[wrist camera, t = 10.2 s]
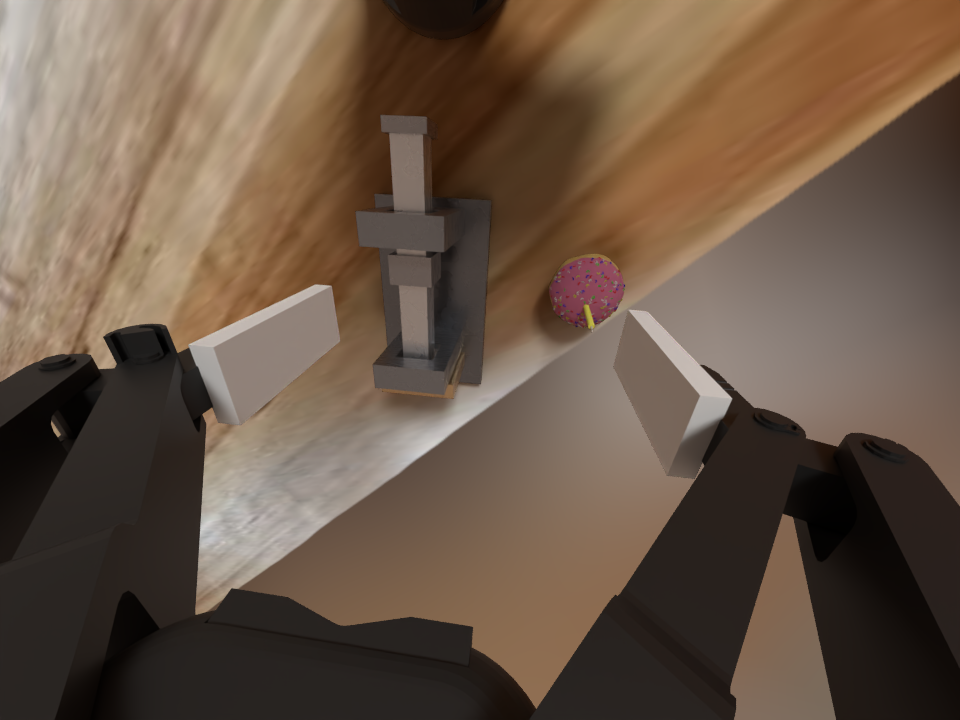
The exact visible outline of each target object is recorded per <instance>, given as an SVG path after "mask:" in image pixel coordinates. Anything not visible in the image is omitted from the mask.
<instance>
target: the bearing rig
mask: <svg viewBox="0 0 960 720" xmlns="http://www.w3.org/2000/svg"><path fill="white" fill-rule="evenodd" d="M374 195H375V207H376V208H373V209H366V210H359V211H355V212H356V221H357V230H358V239H359V246H363V247H377V248H379V253H380V264H381V276H382V288H383V299H384V311H385V322H386V334H387V345H388V347H387V348H386V349H385V351H384V352H383V353H382V354H381V355H380V357H379V358H378V359H377V360H376V361H375V362H374V364H373V372H374V381H375V388H382V389H392V390H401V391H411V392H421V393H430V394H440V395H444V394H445V392H446V389H447V387H448V384H449V381H450V379H451V376H452V373H453V371H454V368H455V366H456V363H457V360H458V358H459V355H460V352H465V365H464V368H463V371H462V374H461V377H460V380H459V382H464V383H474V384H481V380H482V365H483V348H484V330H485V313H486V296H487V279H488V261H489V244H490V227H491V210H492V200H482V199H464V198H447V197H432V213H415V212H398V211H394V200H393V194H374ZM397 249H405V250H419V251H433V252H441V278H440V279H439V280H438V281H437V282H436V284H435V285H434V347H435V354H434V356H433V358H432V360H423V359H413V358H404V357H403V341H402V325H401V309H400V294H399V285H390V277H389V264H388V255H389V254H390V253H392V252H394V251H396V250H397Z"/></svg>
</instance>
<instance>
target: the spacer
mask: <svg viewBox="0 0 960 720" xmlns="http://www.w3.org/2000/svg"><path fill="white" fill-rule="evenodd" d="M464 365H465V352H460V355H459V358H458V360H457V363H456V366H455V368H454V371H453V373H452V376H451V379H450V381H449V384H448V387H447V389H446V392H445V394H444V395H440V394H430V393H421V392H411V391H401V390H392V389H382V392H392V393H402V394H411V395H421V396H431V397H440V398H450V399H453V398H454V395H455V392H456V389H457V386H458V383H459V380H460V377H461V374H462V371H463V368H464Z"/></svg>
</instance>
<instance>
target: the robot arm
mask: <svg viewBox="0 0 960 720" xmlns="http://www.w3.org/2000/svg"><path fill="white" fill-rule="evenodd" d="M383 1H384V3H385V4H386V5H387V7H388V8H389V9H390V10H391V12H392V13H393V14H394V15H395V16H396V17H397V18H398V19H399V20H400V21H401V22H402V23H403V24H404V25H405V26H407V27H408V28H410V29H411V30H413V31H414V32H416V33H418V34H420V35H423V36H426V37H429V38H434V39H452V38H457V37H460V36H463V35H466V34H468V33H470V32H472V31H473V30H475V29H477V28H478V27H480V26H481V25H482V24H483V23H484V22H486V21H487V20H488V19H489V18H490V17H491V16H492V14H493V13H494V12H495V11H496V10H497V8H498V7H499V6H500V4H501V3H502V1H503V0H383ZM103 338H104V340H105V341H106V343H107V345H108V347H109V349H110V351H111V353H112V355H113V357H114V359H115V361H116V363H117V365H116V367H115V368H113V369H98V367H97V365H96V364H95V362H94V360H93V358H92V357H91V355H88V354H69V355H65V354H61V355H55V356H51V357H47V358H44V359H43V360H41V361H39V362H36V363H33V364H31V365H29V366H27V367H25V368H23V369H21V370H20V371H18V372H16V373H15V374H13V375H12V376H10V377H8V378H7V379H5V380H3V381H2V382H0V720H734V717H735V712H736V698H735V697H734V696H733V695H732V694H730V686H731V682H732V678H733V674H734V671H735V668H736V664H737V661H738V658H739V655H740V652H741V648H742V645H743V642H744V639H745V635H746V632H747V629H748V625H749V622H750V619H751V616H752V612H753V609H754V606H755V602H756V599H757V596H758V593H759V589H760V586H761V583H762V580H763V576H764V573H765V570H766V566H767V563H768V560H769V557H770V553H771V550H772V547H773V543H774V540H775V537H776V533H777V530H778V527H779V524H780V520H781V517H782V514H785V515H788V516H792V517H793V519H794V523H795V528H796V533H797V537H798V542H799V546H800V552H801V556H802V561H803V565H804V570H805V575H806V579H807V584H808V589H809V594H810V599H811V603H812V608H813V612H814V617H815V622H816V627H817V631H818V636H819V641H820V645H821V650H822V655H823V660H824V664H825V669H826V674H827V678H828V683H829V688H830V693H831V697H832V702H833V707H834V711H835V716H836V720H960V506H959V505H958V503H957V502H956V501H955V499H954V498H953V497H952V496H951V494H950V493H949V492H948V491H947V489H946V488H945V486H944V485H943V484H942V482H941V481H940V480H939V478H938V477H937V476H936V475H935V473H934V472H933V471H932V469H931V468H930V467H929V465H928V464H927V463H926V462H925V461H924V460H923V459H922V458H920V457H919V456H918V455H916V454H914V453H913V452H911V451H909V450H908V449H907V448H906V447H905V446H903V445H901V444H896V442H894V441H891V440H888V439H882V438H879V437H876V436H873V435H868V434H864V433H850V434H848V435H846V436H845V438H844V439H843V440H842V442H841V443H840V445H839V446H838V447H836V446H833V445H828V444H825V443H821V442H818V441H814V440H810V439H806V434H805V431H804V430H803V429H802V428H801V427H800V426H799V425H798V424H797V423H795V422H794V421H792V420H791V419H789V418H787V417H784V416H782V415H780V414H778V413H775V412H772V411H769V410H765V409H760V408H754V407H753V406H752V405H751V404H750V403H748V402H747V401H746V400H745V399H744V398H743V397H742V396H741V395H740V394H739V393H738V392H737V391H735V390H734V388H733V387H732V386H731V385H730V384H728V383H727V382H726V381H725V380H724V378H722V376H720V375H719V374H718V373H717V372H715V371H713V370H712V369H710V368H708V367H706V366H705V365H699V364H698V363H697V362H696V361H695V360H694V359H693V358H692V357H691V356H690V355H689V354H688V353H687V352H686V351H685V350H684V349H683V348H682V347H681V346H680V345H679V344H678V343H677V342H676V341H675V340H674V339H673V338H672V336H671V335H670V334H669V333H667V331H666V330H665V329H663V327H662V326H661V325H660V324H659V323H658V322H657V321H656V320H655V319H654V318H653V317H652V316H651V315H650V314H649V313H648V312H647V311H636V310H628V313H627V316H626V320H625V324H624V328H623V332H622V336H621V339H620V343H619V347H618V351H617V355H616V359H615V362H614V366H613V367H614V369H615V371H616V373H617V375H618V377H619V379H620V381H621V383H622V385H623V388H624V390H625V392H626V394H627V396H628V397H629V400H630V402H631V403H632V406H633V408H634V410H635V412H636V414H637V416H638V418H639V420H640V422H641V424H642V426H643V428H644V430H645V432H646V434H647V436H648V438H649V440H650V442H651V444H652V446H653V448H654V450H655V452H656V454H657V456H658V458H659V461H660V463H661V465H662V466H663V469H664V470H665V473H666V475H667V476H674V477H683V478H692V479H695V477H696V475H697V473H698V471H699V469H700V467H701V464H702V462H703V464H704V468H703V469H702V471H701V472H700V474H699V475H698V477H697V478H696V480H695V481H694V483H693V484H692V486H691V487H690V489H689V490H688V492H687V493H686V495H685V497H684V498H683V500H682V501H681V503H680V504H679V506H678V507H677V509H676V510H675V512H674V513H673V515H672V516H671V518H670V519H669V521H668V522H667V524H666V525H665V527H664V528H663V530H662V532H661V533H660V534H659V536H658V537H657V539H656V540H655V542H654V544H653V545H652V547H651V548H650V550H649V551H648V553H647V554H646V556H645V557H644V559H643V560H642V562H641V563H640V565H639V566H638V568H637V569H636V571H635V572H634V574H633V576H632V577H631V579H630V580H629V581H628V583H627V585H626V586H625V587H624V589H623V590H622V592H621V593H620V594H619V595H618V596H616V595H615V596H614V597H613V598H612V599H611V600H610V602H609V603H608V604H607V606H606V607H605V609H604V610H603V611H602V613H601V614H600V616H599V617H598V619H597V620H596V622H595V623H594V625H593V626H592V628H591V629H590V631H589V632H588V633H587V635H586V636H585V638H584V640H583V641H582V642H581V644H580V645H579V647H578V648H577V650H576V651H575V653H574V654H573V656H572V657H571V659H570V660H569V662H568V663H567V665H566V666H565V668H564V669H563V671H562V672H561V674H560V675H559V677H558V678H557V679H556V681H555V682H554V684H553V685H552V687H551V688H550V690H549V691H548V693H547V695H546V696H545V697H544V699H543V700H542V702H541V703H540V705H539V706H538V708H537V709H536V708H535V706H534V705H533V703H532V702H531V700H530V699H529V697H528V696H527V694H526V693H525V692H524V691H523V689H522V688H521V687H520V686H519V685H518V683H517V682H516V681H515V680H514V679H513V678H512V677H511V676H510V675H509V674H508V673H507V672H506V671H505V670H504V669H503V668H502V667H501V666H500V665H498V664H497V663H496V662H494V661H493V660H491V659H490V658H489V657H487V656H486V655H485V654H483V653H481V652H479V651H477V650H475V649H474V648H471V647H472V633H473V627H470V626H465V625H458V624H452V623H446V622H439V621H433V620H427V619H421V618H414V617H408V618H400V619H393V620H386V621H379V622H372V623H365V624H357V625H350V626H340V625H337V624H335V623H333V622H331V621H329V620H327V619H326V618H324V617H322V616H321V615H319V614H317V613H315V612H313V611H312V610H310V609H308V608H306V607H304V606H303V605H301V604H299V603H297V602H295V601H294V600H292V599H290V598H288V597H283V596H277V595H270V594H264V593H257V592H252V591H245V590H239V589H233V588H232V589H231V590H230V591H229V593H228V594H227V596H226V597H225V598H224V600H223V601H222V603H221V604H220V605H219V607H218V608H217V609H216V610H215V611H210V612H206V613H202V614H198V615H195V605H196V588H197V571H198V555H199V538H200V521H201V505H202V488H203V471H204V455H205V438H206V422H205V420H204V417H203V415H202V414H203V413H205V412H206V411H207V410H209V409H210V408H213V410H214V413H215V415H216V418H217V421H218V423H225V424H234V425H242V424H243V423H244V422H245V421H246V420H248V419H249V418H250V417H251V416H252V415H253V414H255V413H256V412H257V411H258V410H259V409H261V408H262V407H263V406H264V405H265V404H266V403H268V402H269V401H270V400H271V399H272V398H274V397H275V396H276V395H277V394H278V393H279V392H281V391H282V390H283V389H284V388H285V387H287V386H288V385H289V384H290V383H291V382H292V381H294V380H295V379H296V378H297V377H298V376H300V375H301V374H302V373H303V372H304V371H306V370H307V369H308V368H309V367H310V366H311V365H313V364H314V363H315V362H316V361H317V360H319V359H320V358H321V357H322V356H323V355H324V354H326V353H327V352H328V351H329V350H330V349H332V348H333V347H334V346H335V345H336V344H337V343H339V342H340V336H339V330H338V323H337V317H336V311H335V304H334V298H333V291H332V286H328V285H313V286H311V287H309V288H307V289H305V290H303V291H301V292H299V293H297V294H294V295H292V296H290V297H288V298H286V299H284V300H282V301H280V302H278V303H275V304H273V305H271V306H269V307H267V308H265V309H263V310H261V311H259V312H256V313H254V314H252V315H250V316H248V317H246V318H244V319H242V320H240V321H237V322H235V323H233V324H231V325H229V326H227V327H225V328H223V329H221V330H218V331H216V332H214V333H212V334H210V335H208V336H206V337H204V338H202V339H199V340H197V341H195V342H193V343H191V344H189V345H188V346H189V348H188V349H186V350H183V351H181V352H179V353H177V351H176V349H175V346H174V344H173V341H172V339H171V336H170V334H169V332H168V329H167V327H166V326H165V325H162V324H142V325H135V326H130V327H125V328H122V329H118V330H115V331H113V332H110V333H108V334H106V335H105V336H104V337H103ZM51 420H52V422H53V423H54V425H55V426H56V428H57V429H58V431H59V432H60V434H61V435H60V436H59V437H57V436H56V434H55V433H54V431H53V429H52V426H51Z"/></svg>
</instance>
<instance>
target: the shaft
mask: <svg viewBox="0 0 960 720" xmlns="http://www.w3.org/2000/svg"><path fill="white" fill-rule="evenodd" d="M380 117H381V130H382V132H383V133H386V134H389V137H390V152H391V168H392V184H393V200H394V211H398V212H415V213H432V160H431V139H438V134H437V124H436V123H435V122H433V121H432V120H431V119H429V118H428V117H423V116H396V115H380ZM388 264H389V277H390V285H399V294H400V309H401V325H402V341H403V357H404V358H413V359H423V360H432V358H433V356H434V354H435V347H434V285H435V284H436V282H437V281H438V280H439V279H440V278H441V252H433V251H419V250H405V249H397V250H396V251H394V252H392V253H390V254H389V255H388Z"/></svg>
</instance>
